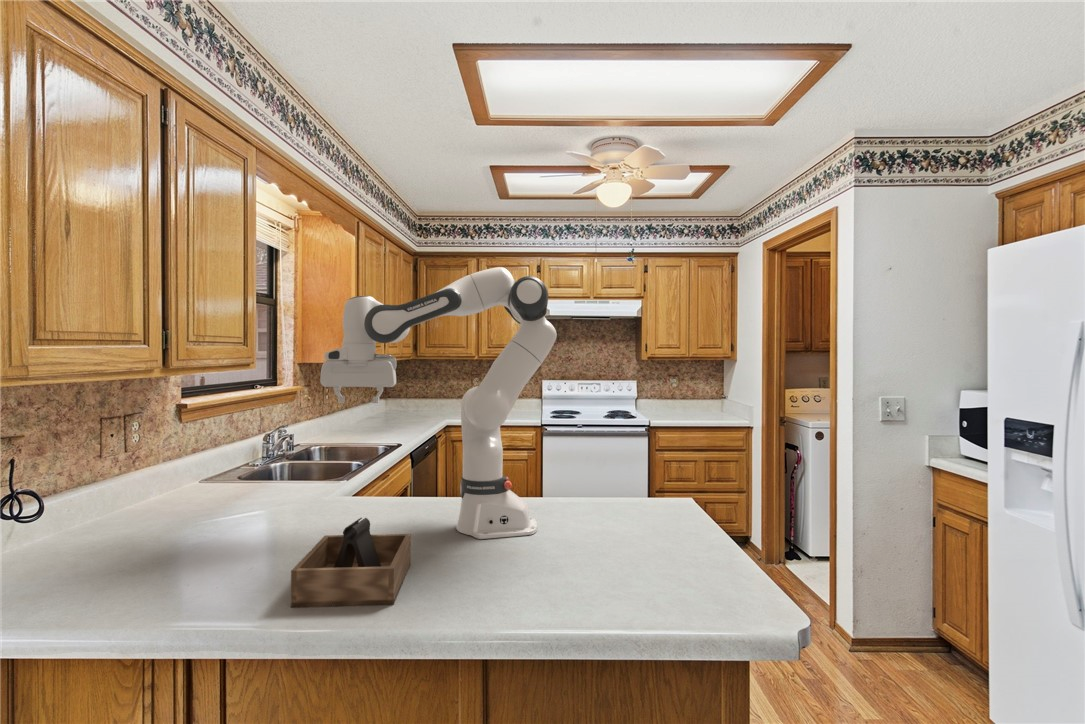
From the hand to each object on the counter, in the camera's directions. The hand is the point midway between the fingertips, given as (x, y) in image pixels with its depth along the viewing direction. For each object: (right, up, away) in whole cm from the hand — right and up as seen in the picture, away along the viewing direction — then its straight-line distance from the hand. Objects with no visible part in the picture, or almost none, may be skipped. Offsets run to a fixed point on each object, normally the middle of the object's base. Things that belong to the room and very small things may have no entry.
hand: (358, 403), depth 145 cm
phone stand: (+13, -34, -38) cm, 52 cm away
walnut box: (+13, -35, -38) cm, 53 cm away
